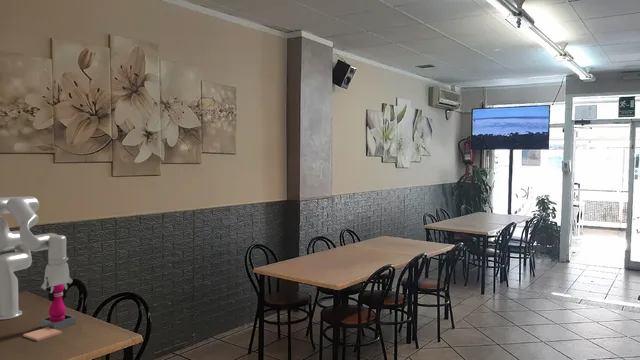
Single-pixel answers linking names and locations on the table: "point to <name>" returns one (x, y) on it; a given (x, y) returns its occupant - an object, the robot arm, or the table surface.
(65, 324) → the holder sleeve
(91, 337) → the table surface
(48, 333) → the plate
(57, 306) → the pepper mill
